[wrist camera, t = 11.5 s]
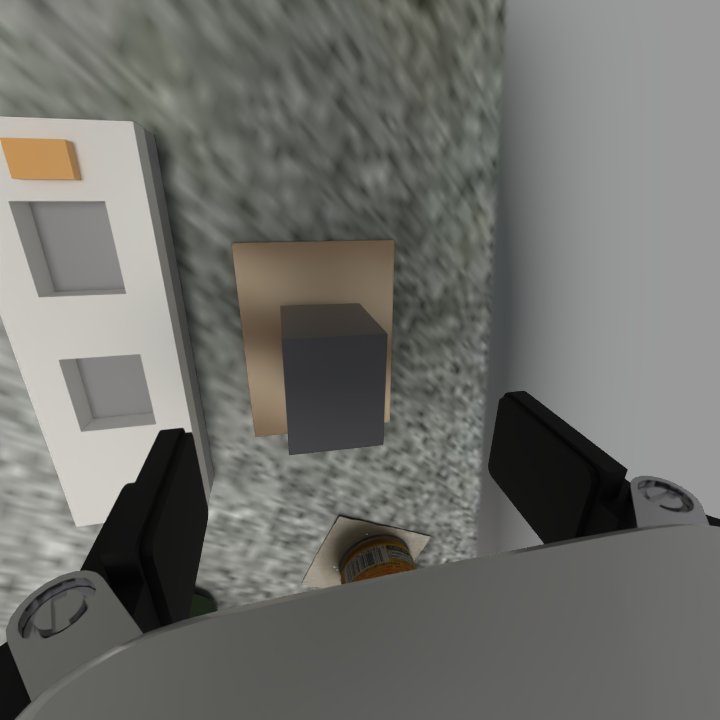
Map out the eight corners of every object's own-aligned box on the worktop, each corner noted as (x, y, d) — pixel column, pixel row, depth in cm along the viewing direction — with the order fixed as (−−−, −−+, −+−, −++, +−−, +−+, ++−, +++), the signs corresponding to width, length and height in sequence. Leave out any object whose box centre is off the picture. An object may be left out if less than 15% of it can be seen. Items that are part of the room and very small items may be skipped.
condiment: (390, 597, 33) (446, 785, 22) (301, 582, 31) (314, 789, 20) (429, 534, 32) (510, 705, 21) (338, 513, 29) (376, 697, 18)
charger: (279, 301, 22) (281, 339, 15) (355, 298, 23) (387, 333, 16) (285, 387, 24) (289, 455, 17) (354, 382, 24) (383, 444, 18)
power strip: (-16, 130, 17) (-86, 109, 14) (154, 135, 18) (127, 117, 15) (99, 491, 24) (71, 535, 21) (214, 476, 25) (205, 515, 22)
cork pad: (232, 242, 21) (231, 243, 20) (391, 239, 22) (394, 240, 22) (255, 433, 25) (255, 436, 24) (387, 418, 27) (389, 421, 26)
